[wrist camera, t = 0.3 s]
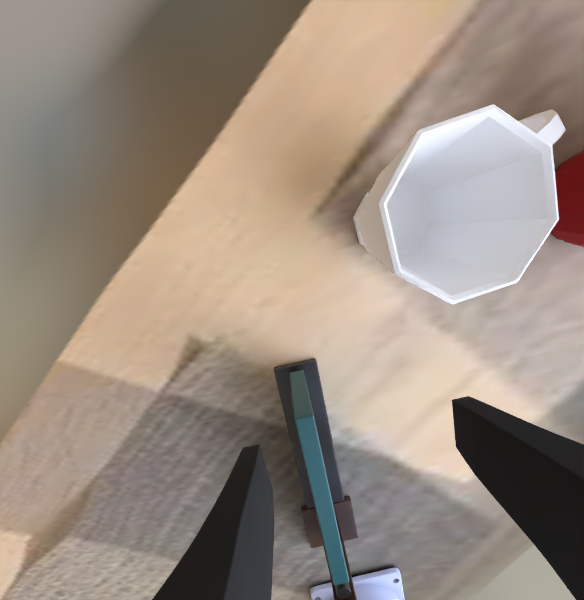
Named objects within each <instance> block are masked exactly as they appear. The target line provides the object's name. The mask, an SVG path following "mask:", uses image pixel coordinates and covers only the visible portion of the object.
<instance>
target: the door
mask: <svg viewBox="0 0 584 600" xmlns="http://www.w3.org/2000/svg"><path fill="white" fill-rule="evenodd" d="M289 376H290V384H291V401H292V409H293V413H294V417H295V423H296V427H297V431H298V436H299V440H300V444H301V448H302V452H303V457H304V461H305V465H306V469H307V474H308V478H309V482H310V486H311V491H312V495H313V499H314V506H315V513H316V517H317V521H318V525H319V530H320V534H321V538H322V542H323V546H324V551H325V555H326V559H327V563H328V568H329V572H330V574H331V576H332V580H333V584H334V585H339V584H343V583H347V582H349V576H348V571H347V567H346V562H345V558H344V553H343V548H342V544H341V539H340V534H339V530H338V525H337V521H336V516H335V511H334V507H333V502H332V497H331V493H330V488H329V483H328V479H327V474H326V470H325V465H324V460H323V456H322V451H321V446H320V442H319V437H318V432H317V428H316V423H315V419H314V414H313V410H312V405H311V401H310V396H309V392H308V388H307V383H306V379H305V375H304V371H303V370H300V371H295V372H291V373H289Z"/></svg>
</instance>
